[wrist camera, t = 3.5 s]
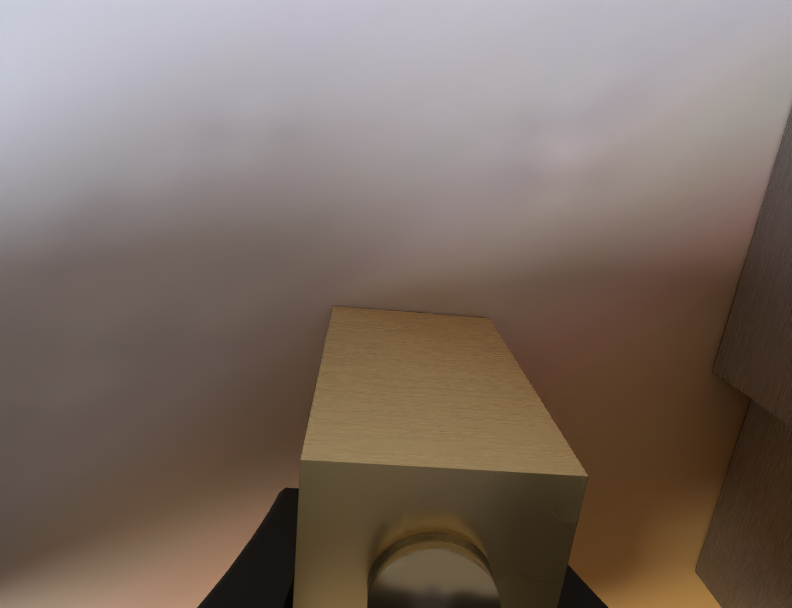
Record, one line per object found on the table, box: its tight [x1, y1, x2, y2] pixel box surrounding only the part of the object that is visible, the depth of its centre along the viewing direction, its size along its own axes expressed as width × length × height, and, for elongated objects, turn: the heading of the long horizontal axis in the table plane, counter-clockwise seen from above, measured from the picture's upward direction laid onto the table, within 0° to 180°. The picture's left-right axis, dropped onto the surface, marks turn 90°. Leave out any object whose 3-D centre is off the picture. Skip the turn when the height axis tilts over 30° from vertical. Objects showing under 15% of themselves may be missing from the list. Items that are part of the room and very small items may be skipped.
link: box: [293, 306, 588, 608], centre depth 9 cm, size 3×8×5 cm, turn 174°
